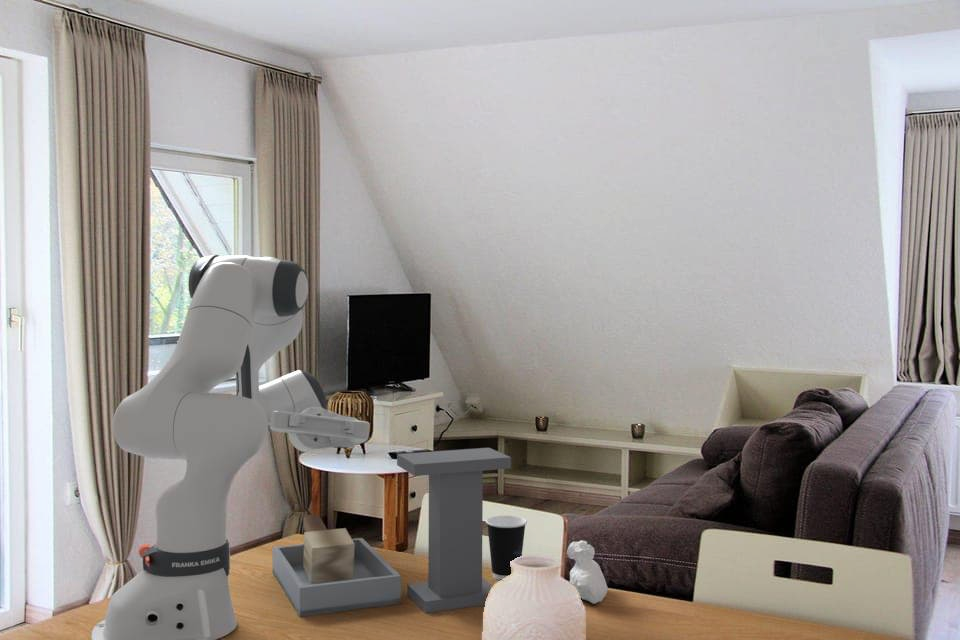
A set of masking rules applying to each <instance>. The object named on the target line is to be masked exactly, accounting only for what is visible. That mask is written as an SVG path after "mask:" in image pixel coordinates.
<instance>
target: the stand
mask: <svg viewBox="0 0 960 640" xmlns="http://www.w3.org/2000/svg"><path fill="white" fill-rule="evenodd" d="M396 466H398V468H399V467H400V468H401V469H403V470H404V471H406V472H408V473H409V474H411V475H412V476H414V477H417V476H418V477H419V476H420V477H421V476H428V561H427V562H428V565H427V566H428V567H427V568H428V571H427V573H428V576H427V577H428V578H427V579H428V581H420V582H419V581H418V582H412V583H407V589H406V591H407V593H406V594H407V596H408V597H409V598H410V599H411V600H412V601H413V602H414V603H415V604H416V606H418V607H419V608H420V609H421V610H422V611H423V612H424V614H428V613H435V612H443V611H449V610H455V609H456V610H458V609H464V608H471V607H477V606H478V607H479V606H485V605H484V604H485V601H486V598H487V596H488V593H489V591H490V589H491V587H492V586H493V585H492V584H491V583H489V582H488V581H487V580H485V578H483V508H484V506H483V501H484V500H483V497H484V495H483V494H484V493H483V491H484V490H483V489H484V488H483V487H484V484H483V482H484V480H483V479H484V477H483V475H484V471H495V470H497V471H498V470H506V469H507V470H508V469H512V457H511V456H509V455H507V454H504V453H502V452H500V451H497V450H496V449H493V448H491V447H480V448H479V447H478V448H464V449H450V450H439V451H438V450H436V451H435V450H434V451H423V452H422V451H421V452H420V451H419V452H408V453H397V454H396Z"/></svg>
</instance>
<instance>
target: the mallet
mask: <svg viewBox="0 0 960 640" xmlns="http://www.w3.org/2000/svg"><path fill="white" fill-rule="evenodd" d="M303 530H304V533H303V534H304V535H303V544H304V555H303V567H304V569H305V571H306V573H307V576H308V578H309V580H310V582H311V583H316V582H324V581H333V580H341V579H349V578H353V566H354V545H355V544H354V542H353V540H352V539H353V538H352V537H351V535H350V534H349V532H348V530H347V528H346V527H344V528H333V529H328V528H327V527H326V525H325V523H324V521H323V519H322V517H321V516H320V514H319V513H315V514H306V515H304V514H303Z"/></svg>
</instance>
